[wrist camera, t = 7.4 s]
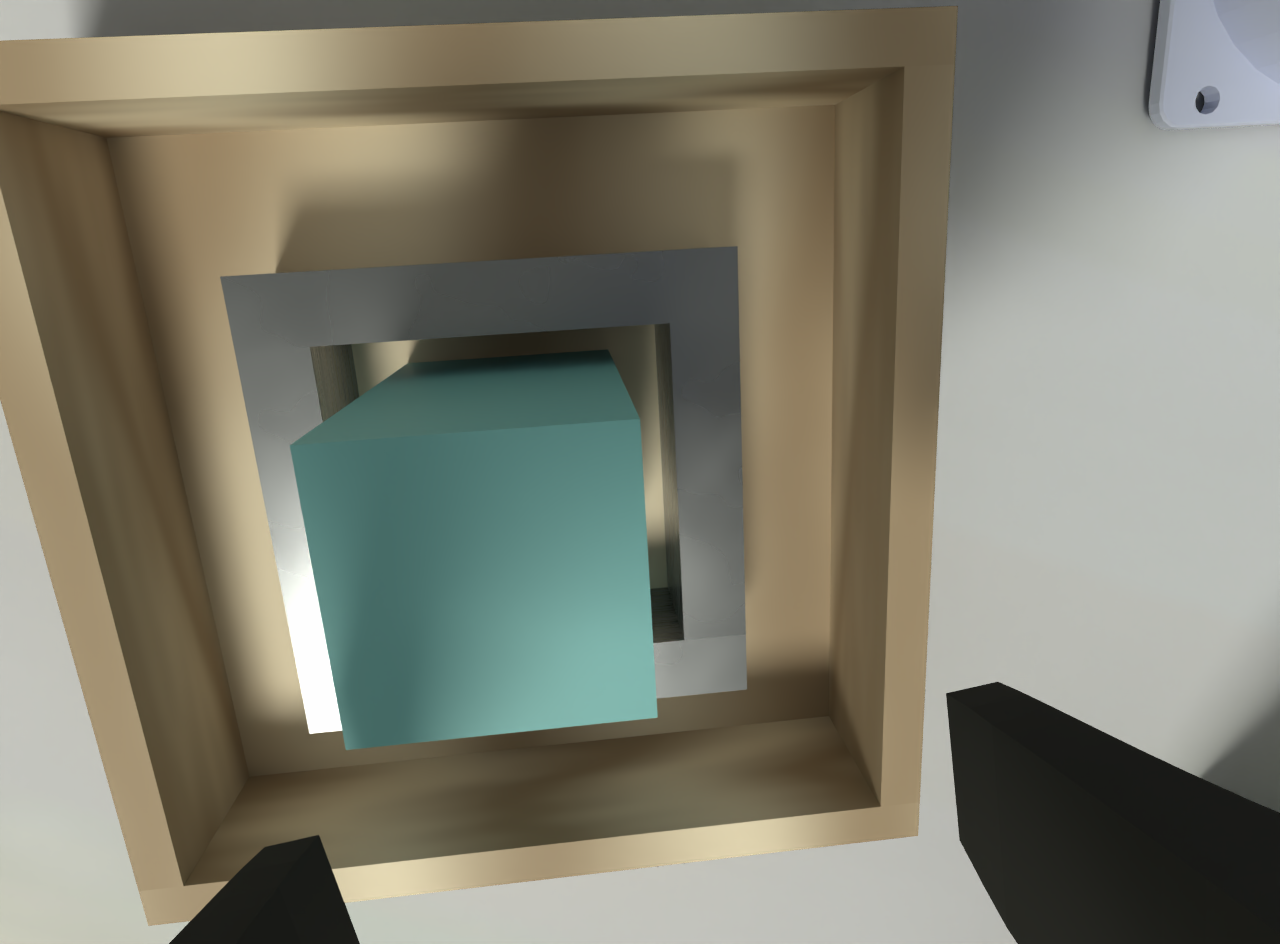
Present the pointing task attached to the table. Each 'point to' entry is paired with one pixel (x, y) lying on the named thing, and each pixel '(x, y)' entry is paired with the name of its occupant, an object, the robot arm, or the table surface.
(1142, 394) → the table surface
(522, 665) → the teal peg
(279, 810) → the oak box
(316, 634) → the frame
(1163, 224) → the table surface
